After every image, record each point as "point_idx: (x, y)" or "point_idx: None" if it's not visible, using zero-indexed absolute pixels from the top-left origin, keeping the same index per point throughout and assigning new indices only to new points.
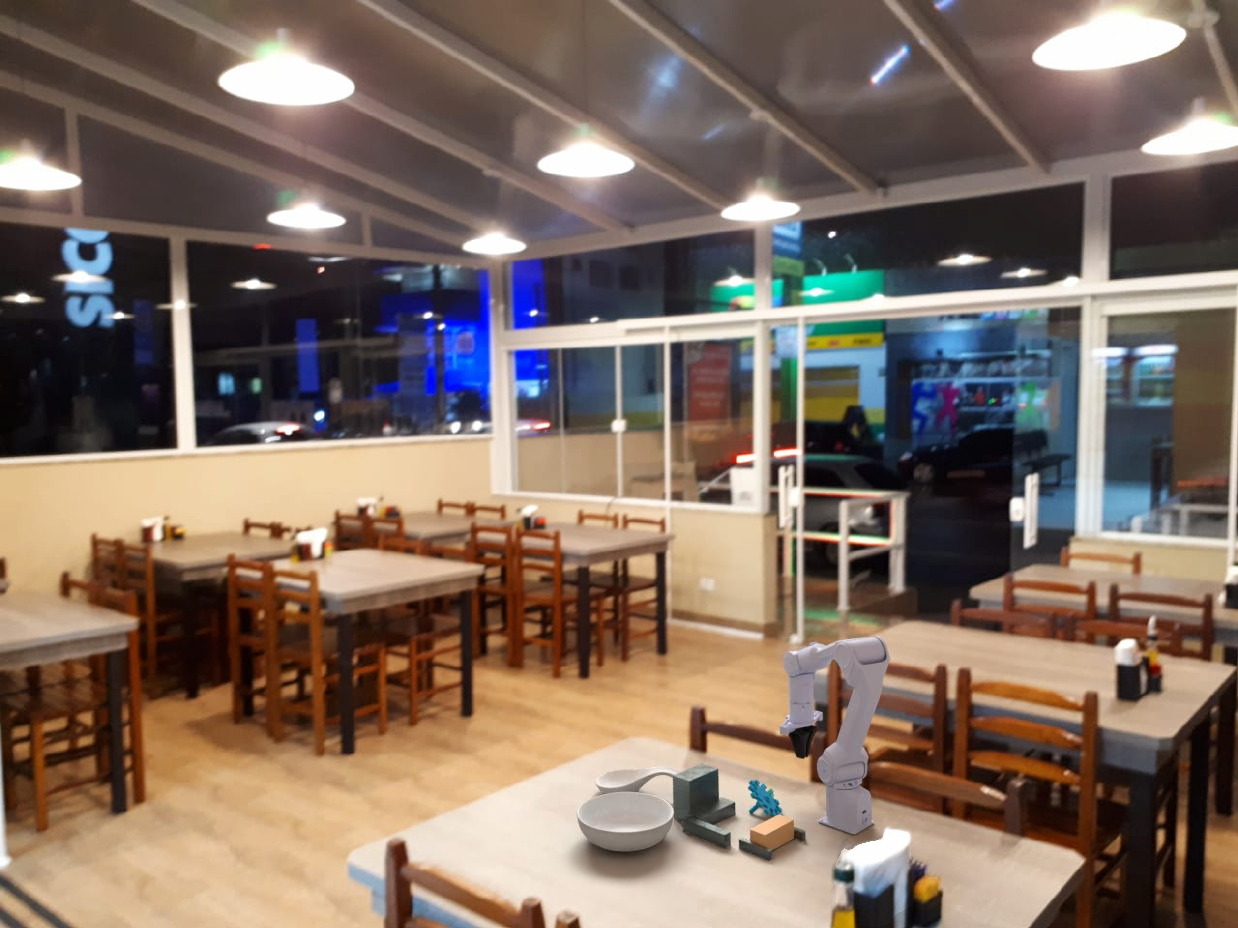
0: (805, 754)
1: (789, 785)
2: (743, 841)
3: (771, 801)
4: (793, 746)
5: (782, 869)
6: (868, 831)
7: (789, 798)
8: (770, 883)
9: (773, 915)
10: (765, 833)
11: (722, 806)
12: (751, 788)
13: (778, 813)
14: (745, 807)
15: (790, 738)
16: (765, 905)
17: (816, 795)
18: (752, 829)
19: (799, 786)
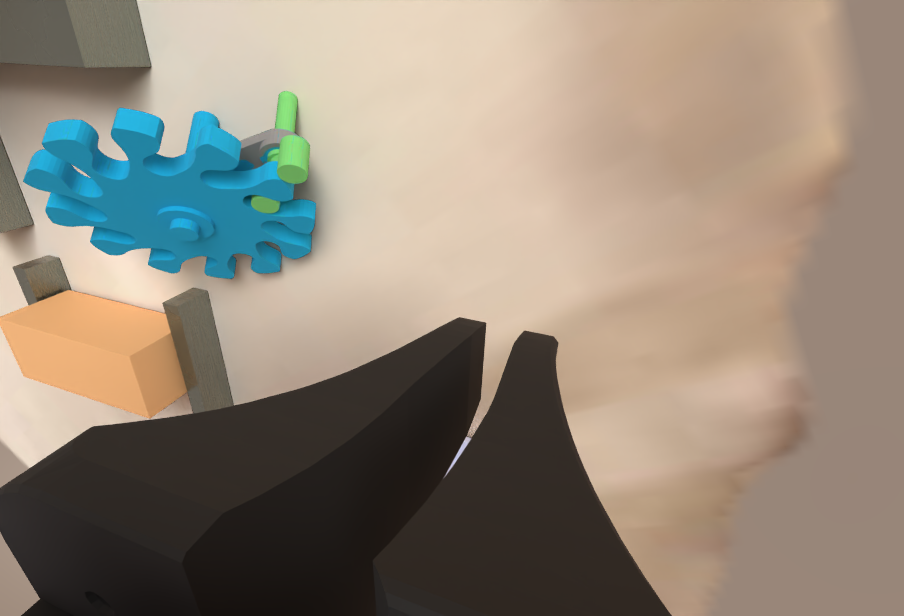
0: (463, 436)
1: (683, 62)
2: (23, 285)
3: (231, 230)
4: (380, 360)
5: (95, 404)
6: None
7: (479, 188)
8: (47, 402)
9: (9, 442)
10: (29, 372)
11: (13, 49)
12: (43, 186)
13: (256, 267)
14: (231, 49)
15: (264, 406)
16: (8, 421)
17: (613, 299)
18: (4, 326)
19: (704, 139)
